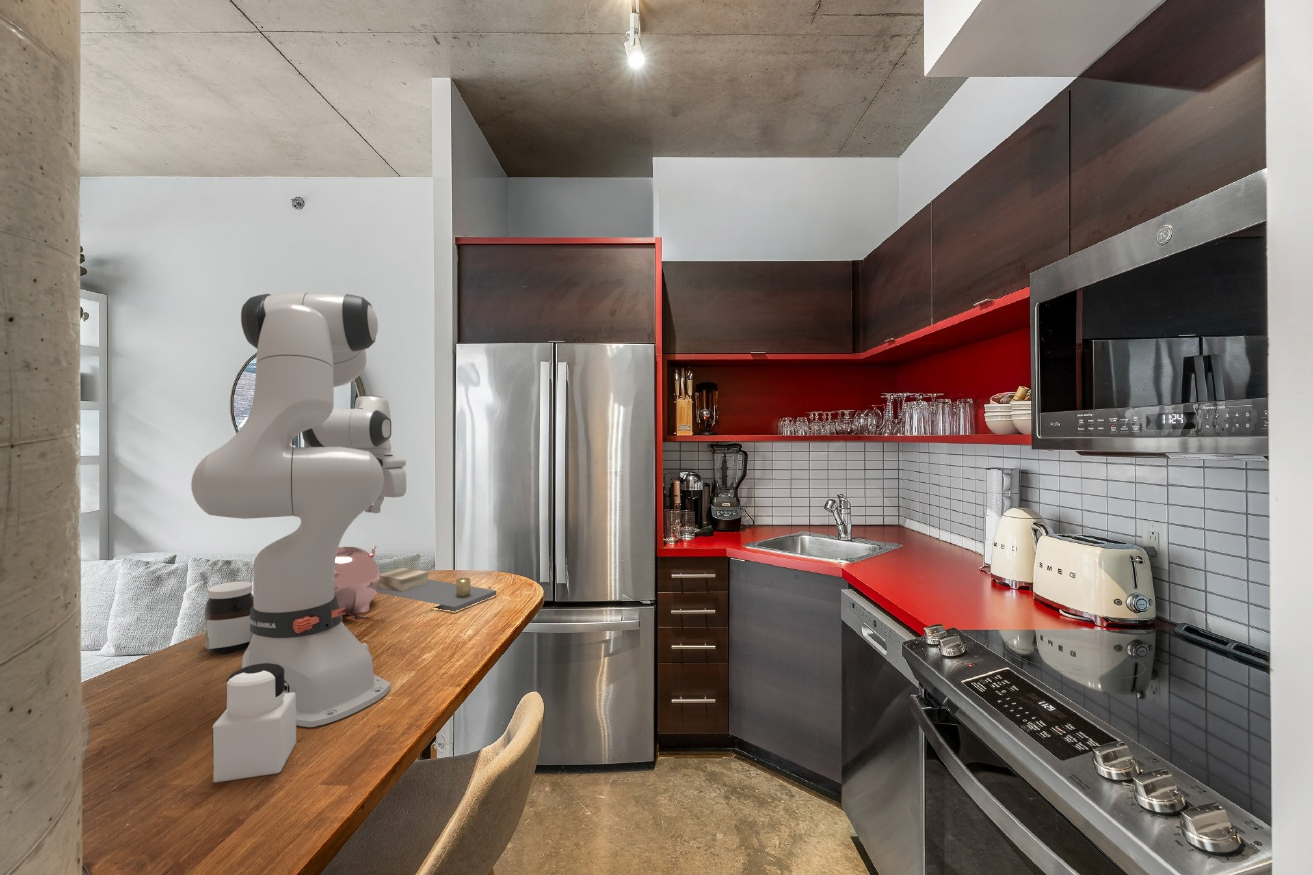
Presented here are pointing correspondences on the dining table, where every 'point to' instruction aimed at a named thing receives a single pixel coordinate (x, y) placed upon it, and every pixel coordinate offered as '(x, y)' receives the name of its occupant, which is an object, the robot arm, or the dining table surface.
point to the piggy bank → (355, 580)
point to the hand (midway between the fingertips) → (372, 512)
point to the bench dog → (463, 587)
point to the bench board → (442, 595)
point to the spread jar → (228, 617)
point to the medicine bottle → (254, 724)
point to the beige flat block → (403, 579)
